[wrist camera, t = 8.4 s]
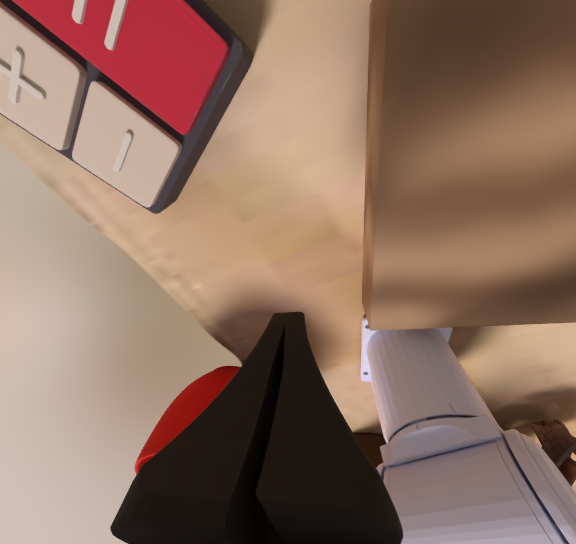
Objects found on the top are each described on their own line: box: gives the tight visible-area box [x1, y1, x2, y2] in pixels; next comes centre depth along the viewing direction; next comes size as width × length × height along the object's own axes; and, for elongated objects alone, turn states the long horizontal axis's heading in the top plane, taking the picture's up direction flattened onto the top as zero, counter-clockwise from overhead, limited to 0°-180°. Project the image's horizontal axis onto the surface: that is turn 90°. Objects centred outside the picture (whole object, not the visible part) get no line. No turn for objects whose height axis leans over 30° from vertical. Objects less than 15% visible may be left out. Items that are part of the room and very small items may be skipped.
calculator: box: [0, 0, 252, 214], centre depth 12 cm, size 11×4×15 cm
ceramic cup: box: [135, 366, 241, 474], centre depth 27 cm, size 13×17×10 cm
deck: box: [362, 0, 576, 331], centre depth 14 cm, size 19×14×4 cm
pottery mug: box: [529, 420, 576, 486], centre depth 28 cm, size 12×10×8 cm
